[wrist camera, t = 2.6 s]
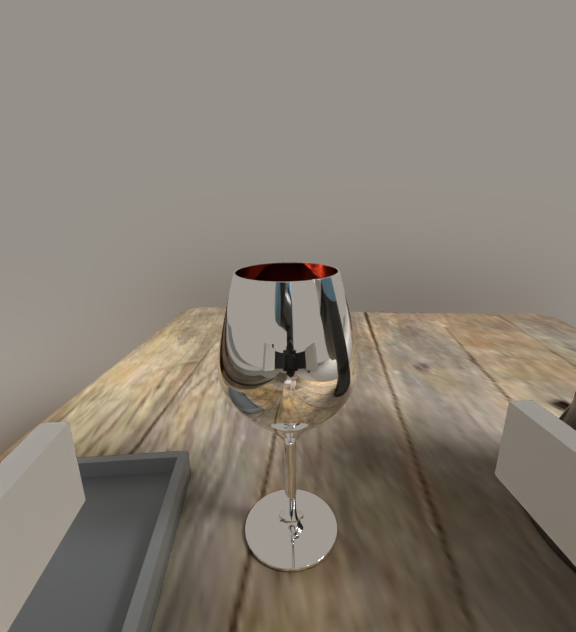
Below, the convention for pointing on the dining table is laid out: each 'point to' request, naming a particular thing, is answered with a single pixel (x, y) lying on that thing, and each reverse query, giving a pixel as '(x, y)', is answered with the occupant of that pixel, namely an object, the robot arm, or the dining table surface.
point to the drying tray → (112, 547)
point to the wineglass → (288, 390)
